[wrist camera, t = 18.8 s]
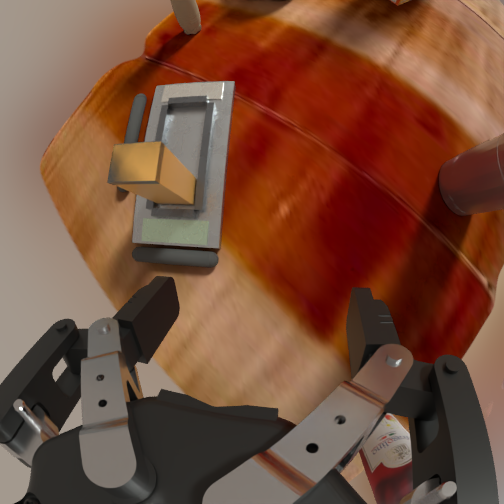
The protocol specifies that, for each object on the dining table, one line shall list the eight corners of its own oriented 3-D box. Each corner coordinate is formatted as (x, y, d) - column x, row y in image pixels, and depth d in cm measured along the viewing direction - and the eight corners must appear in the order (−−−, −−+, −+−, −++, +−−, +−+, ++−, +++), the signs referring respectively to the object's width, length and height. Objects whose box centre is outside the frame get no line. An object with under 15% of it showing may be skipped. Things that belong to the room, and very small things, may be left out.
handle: (195, 43, 36) (174, -18, 21) (171, 32, 36) (146, -23, 21) (215, 28, 36) (200, -33, 21) (190, 18, 36) (171, -38, 21)
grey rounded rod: (131, 193, 37) (125, 190, 35) (120, 193, 37) (113, 190, 35) (149, 96, 36) (144, 90, 34) (138, 98, 37) (133, 92, 35)
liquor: (379, 380, 35) (483, 502, 7) (385, 414, 35) (467, 532, 7) (334, 398, 36) (402, 549, 8) (343, 431, 35) (398, 568, 7)
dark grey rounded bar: (220, 252, 36) (217, 252, 34) (219, 267, 36) (216, 268, 34) (136, 246, 37) (130, 246, 35) (135, 260, 37) (129, 261, 35)
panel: (220, 248, 36) (216, 248, 33) (136, 242, 37) (127, 242, 34) (235, 86, 36) (233, 75, 33) (159, 90, 36) (153, 81, 33)
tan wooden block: (193, 205, 34) (155, 181, 21) (158, 204, 35) (107, 182, 22) (196, 177, 34) (161, 140, 21) (161, 177, 35) (114, 144, 22)
